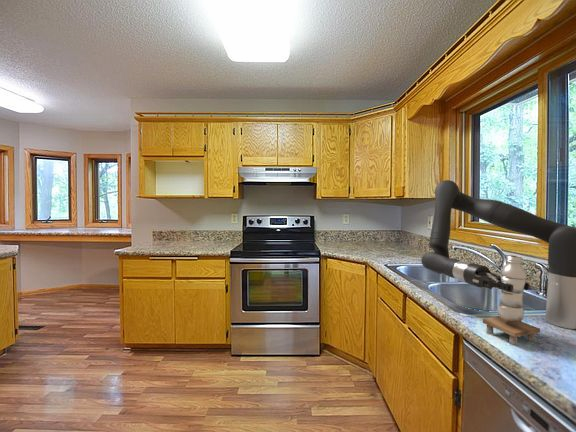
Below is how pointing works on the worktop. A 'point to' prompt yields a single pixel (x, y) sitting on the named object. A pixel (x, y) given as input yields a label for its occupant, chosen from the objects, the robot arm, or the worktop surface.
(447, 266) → the robot arm
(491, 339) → the worktop surface
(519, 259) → the plastic bottle
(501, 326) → the pegged shelf
